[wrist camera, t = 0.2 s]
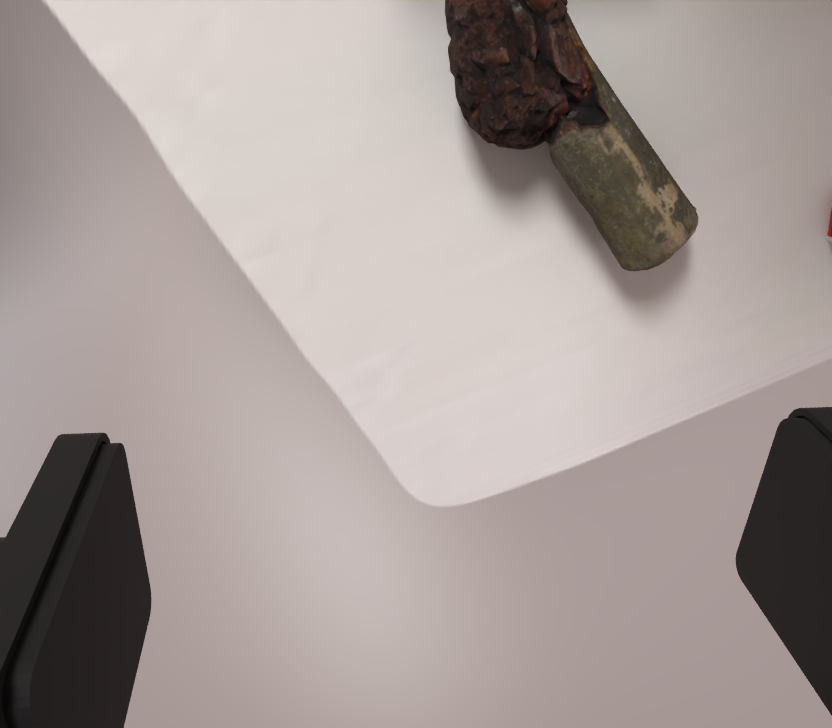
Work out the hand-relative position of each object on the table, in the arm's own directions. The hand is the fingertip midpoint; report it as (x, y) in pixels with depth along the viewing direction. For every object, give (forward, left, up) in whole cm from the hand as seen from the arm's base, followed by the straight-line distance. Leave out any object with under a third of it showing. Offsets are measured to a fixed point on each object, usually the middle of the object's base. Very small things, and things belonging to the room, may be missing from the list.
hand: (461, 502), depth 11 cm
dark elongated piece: (+4, +14, -34) cm, 38 cm away
